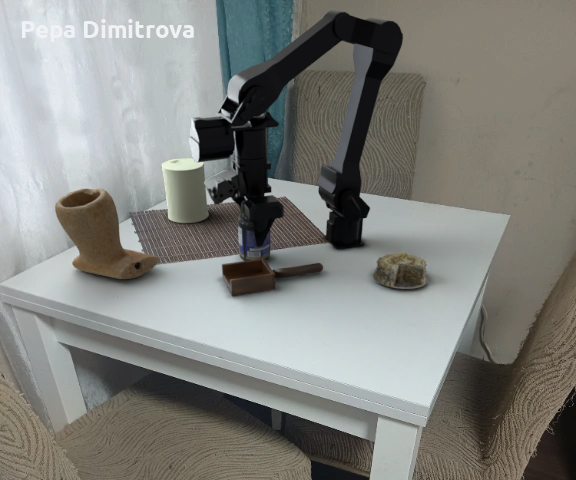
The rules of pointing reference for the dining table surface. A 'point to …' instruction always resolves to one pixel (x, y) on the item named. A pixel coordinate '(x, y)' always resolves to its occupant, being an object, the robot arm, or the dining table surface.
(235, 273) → the scoop
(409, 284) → the cake
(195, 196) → the can
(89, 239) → the clay pipe bowl
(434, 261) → the dining table surface
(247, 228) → the pill bottle
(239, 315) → the dining table surface
